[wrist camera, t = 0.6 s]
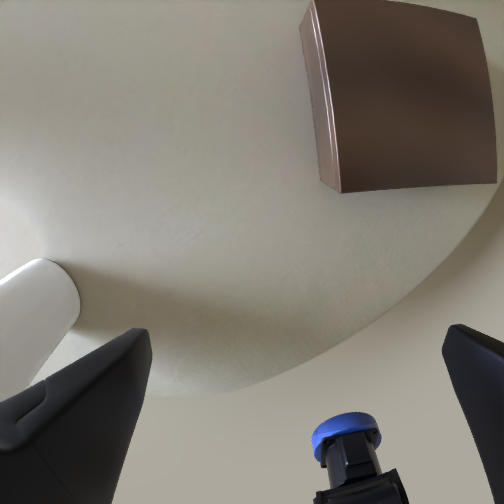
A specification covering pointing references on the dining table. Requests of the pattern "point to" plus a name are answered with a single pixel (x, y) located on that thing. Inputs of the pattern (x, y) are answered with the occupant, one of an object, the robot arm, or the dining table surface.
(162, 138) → the dining table surface
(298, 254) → the dining table surface
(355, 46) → the wooden box
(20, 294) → the mug
